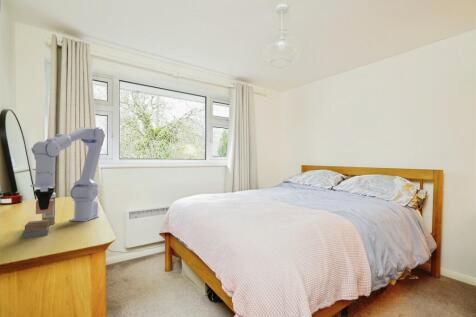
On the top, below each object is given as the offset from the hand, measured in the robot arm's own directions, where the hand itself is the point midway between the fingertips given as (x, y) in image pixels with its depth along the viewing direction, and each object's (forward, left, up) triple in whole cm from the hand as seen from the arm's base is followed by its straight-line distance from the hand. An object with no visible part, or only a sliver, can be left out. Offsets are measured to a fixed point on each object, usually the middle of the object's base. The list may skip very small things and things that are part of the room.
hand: (44, 208), depth 87 cm
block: (0, 0, -2) cm, 2 cm away
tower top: (+1, -1, -8) cm, 8 cm away
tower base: (+1, -2, -10) cm, 10 cm away
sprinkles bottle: (-10, -9, -10) cm, 17 cm away
